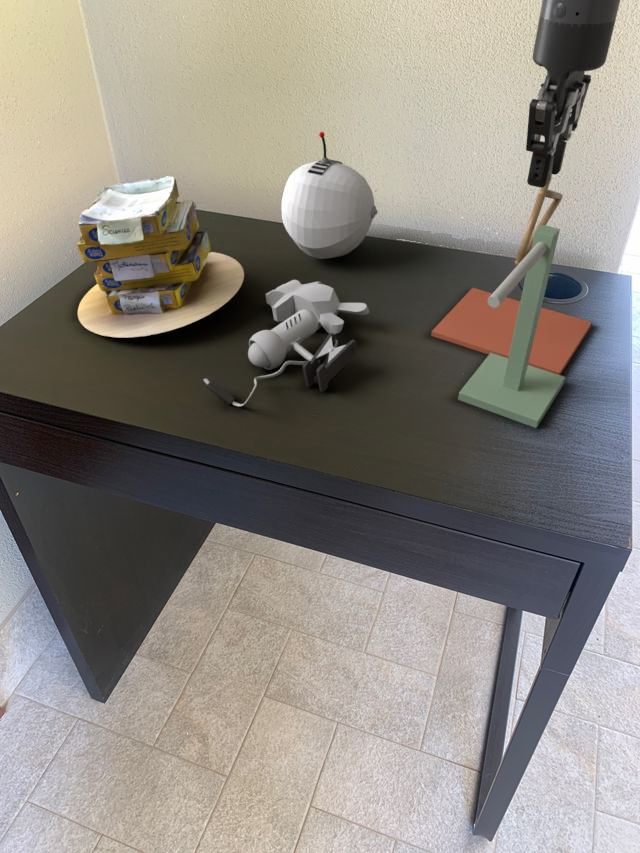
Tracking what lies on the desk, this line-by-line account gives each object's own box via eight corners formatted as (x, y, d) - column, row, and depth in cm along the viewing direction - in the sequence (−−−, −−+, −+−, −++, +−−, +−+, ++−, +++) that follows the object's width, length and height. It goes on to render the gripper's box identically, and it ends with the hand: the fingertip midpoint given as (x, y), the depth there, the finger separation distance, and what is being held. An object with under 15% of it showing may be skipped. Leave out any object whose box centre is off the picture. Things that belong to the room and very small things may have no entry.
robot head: (392, 247, 115) (400, 123, 102) (352, 285, 106) (355, 153, 92) (308, 226, 121) (306, 107, 108) (264, 260, 112) (255, 134, 99)
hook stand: (563, 384, 86) (609, 223, 72) (507, 474, 74) (549, 303, 60) (489, 359, 90) (518, 202, 76) (424, 441, 79) (445, 273, 64)
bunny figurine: (295, 266, 102) (374, 289, 93) (299, 297, 105) (376, 322, 96) (249, 291, 97) (329, 317, 88) (255, 323, 100) (332, 351, 91)
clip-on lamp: (256, 446, 82) (364, 363, 88) (245, 414, 77) (361, 329, 83) (201, 393, 88) (305, 319, 94) (187, 361, 83) (299, 285, 89)
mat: (590, 326, 96) (592, 322, 96) (558, 377, 87) (559, 372, 87) (471, 292, 104) (472, 287, 103) (431, 335, 95) (431, 331, 94)
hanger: (556, 197, 91) (565, 121, 82) (563, 198, 91) (573, 123, 81) (513, 267, 86) (517, 195, 77) (520, 269, 86) (525, 197, 76)
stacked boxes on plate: (45, 335, 96) (8, 222, 85) (126, 254, 114) (104, 152, 103) (209, 359, 91) (193, 243, 80) (266, 271, 109) (260, 166, 98)
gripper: (594, 30, 64) (554, 207, 75) (633, 4, 73) (592, 166, 84) (517, 21, 67) (490, 192, 78) (564, -2, 76) (533, 154, 87)
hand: (543, 178), depth 81 cm, fingers closed on hanger, 4 cm apart
